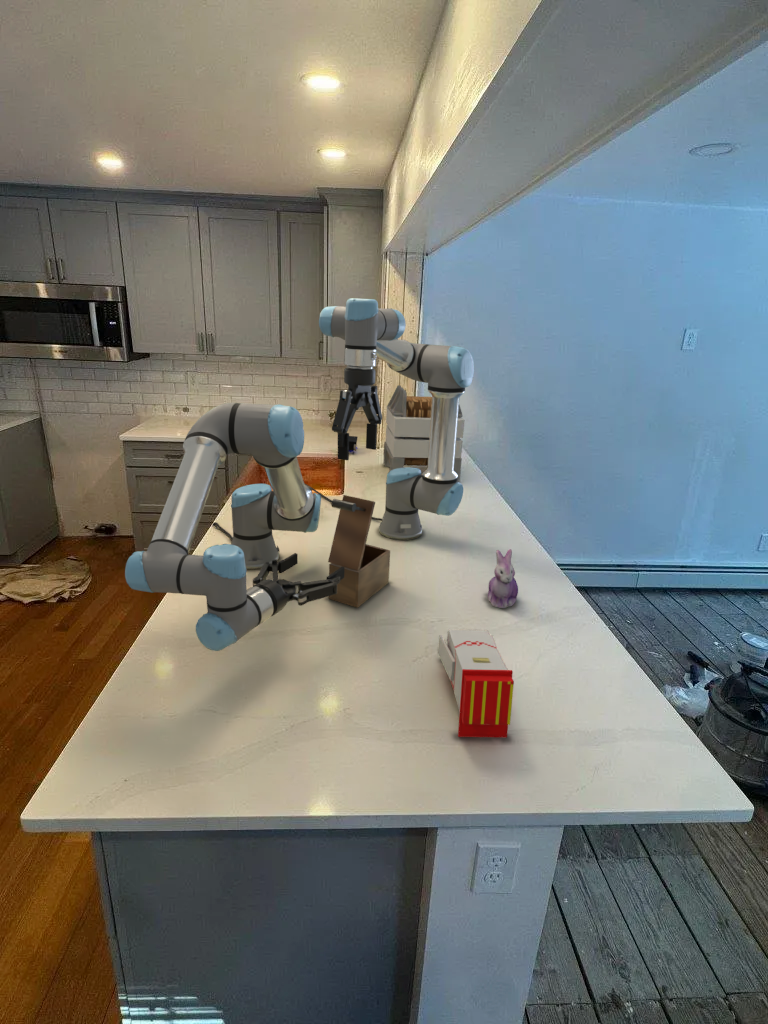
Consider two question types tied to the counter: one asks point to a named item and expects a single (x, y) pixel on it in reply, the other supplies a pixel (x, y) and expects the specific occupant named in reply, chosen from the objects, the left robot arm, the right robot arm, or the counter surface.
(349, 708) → the counter surface
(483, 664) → the toy
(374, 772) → the counter surface
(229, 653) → the counter surface
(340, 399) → the right robot arm
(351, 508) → the brown handled panel
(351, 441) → the figurine character
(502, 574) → the figurine
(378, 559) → the chest
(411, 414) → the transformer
